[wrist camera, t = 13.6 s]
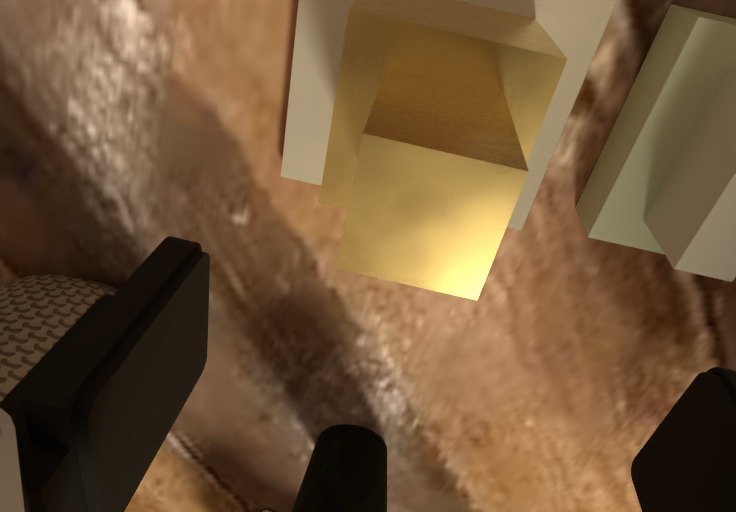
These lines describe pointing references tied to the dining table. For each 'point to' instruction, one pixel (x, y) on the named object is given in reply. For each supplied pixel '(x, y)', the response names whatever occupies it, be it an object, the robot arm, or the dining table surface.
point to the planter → (39, 319)
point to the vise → (674, 151)
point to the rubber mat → (545, 3)
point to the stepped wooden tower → (434, 136)
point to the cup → (345, 473)
